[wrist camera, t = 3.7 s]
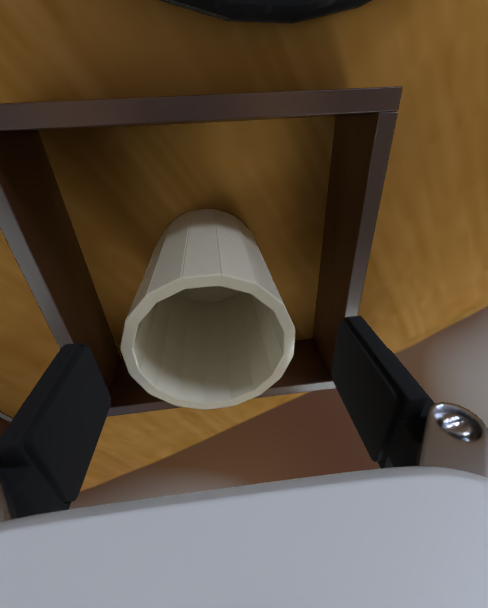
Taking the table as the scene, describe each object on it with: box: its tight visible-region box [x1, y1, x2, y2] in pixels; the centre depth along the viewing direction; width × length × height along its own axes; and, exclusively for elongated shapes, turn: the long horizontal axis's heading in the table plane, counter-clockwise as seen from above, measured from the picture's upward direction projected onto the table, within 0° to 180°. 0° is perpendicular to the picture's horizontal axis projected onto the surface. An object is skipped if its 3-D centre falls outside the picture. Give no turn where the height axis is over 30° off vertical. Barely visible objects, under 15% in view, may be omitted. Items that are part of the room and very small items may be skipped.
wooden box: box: [0, 86, 403, 416], centre depth 17 cm, size 17×17×4 cm
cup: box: [120, 209, 295, 410], centre depth 15 cm, size 6×6×9 cm
